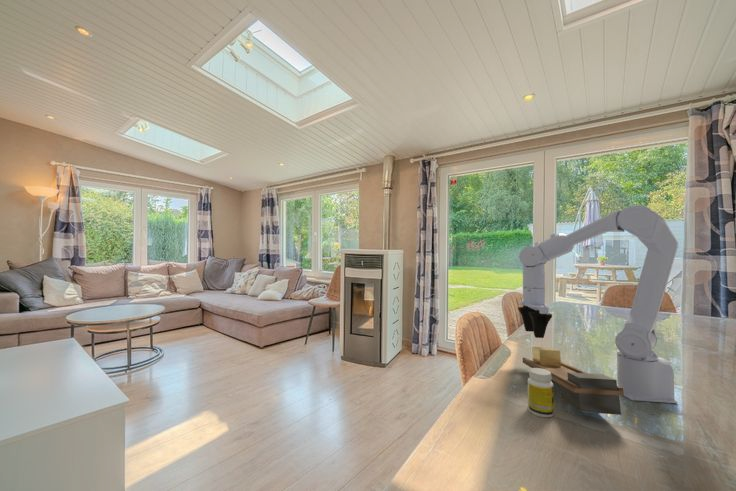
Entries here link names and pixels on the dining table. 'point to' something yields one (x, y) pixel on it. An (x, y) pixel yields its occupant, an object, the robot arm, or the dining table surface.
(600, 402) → the beam
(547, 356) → the block
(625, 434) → the dining table surface
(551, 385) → the supplement bottle
